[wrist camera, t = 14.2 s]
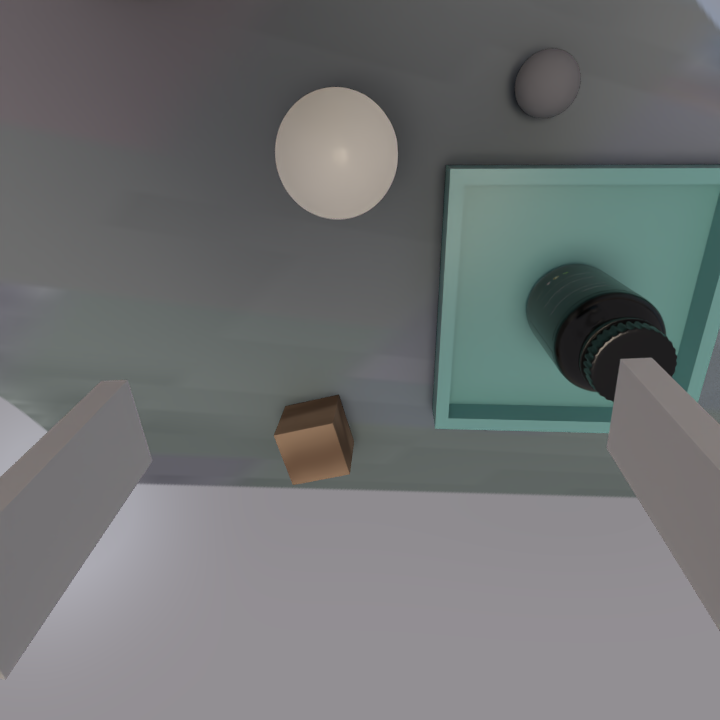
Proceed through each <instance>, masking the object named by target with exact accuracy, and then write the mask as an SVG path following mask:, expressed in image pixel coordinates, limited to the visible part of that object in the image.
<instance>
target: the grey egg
mask: <svg viewBox="0 0 720 720" xmlns="http://www.w3.org/2000/svg"><path fill="white" fill-rule="evenodd" d="M580 83H581V73H580V69H579V66H578V63H577V61H576V60H575V58H574V57H573V56H572V55H571V54H569V53H568V52H566V51H564V50H561V49H557V48H550V49H545V50H541V51H539V52H537V53H535V54H534V55H532V56H531V57H530V58H529V59H527V60H526V62H525V63H524V64H523V65H522V67H521V68H520V70H519V72H518V75H517V78H516V82H515V96H516V99H517V102H518V104H519V106H520V107H521V109H522V110H523V111H524V112H525V113H527V114H528V115H530V116H532V117H535V118H542V119H544V118H551V117H554V116H556V115H558V114H560V113H562V112H563V111H565V110H566V109H567V108H568V107H569V106H570V105H571V104H572V102H573V101H574V99H575V98H576V96H577V94H578V91H579V88H580Z"/></svg>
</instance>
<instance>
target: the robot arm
mask: <svg viewBox="0 0 720 720" xmlns="http://www.w3.org/2000/svg"><path fill="white" fill-rule="evenodd" d="M607 449H608V451H609V453H610V454H611V456H612V457H613V459H614V461H615V462H616V464H617V466H618V467H619V469H620V470H621V472H622V474H623V475H624V477H625V479H626V480H627V482H628V483H629V485H630V487H631V488H632V490H633V491H634V493H635V495H636V496H637V498H638V500H639V501H640V503H641V504H642V506H643V508H644V509H645V511H646V512H647V514H648V516H649V517H650V519H651V520H652V522H653V524H654V525H655V527H656V529H657V530H658V532H659V533H660V535H661V536H662V538H663V540H664V542H665V543H666V545H667V546H668V548H669V550H670V551H671V553H672V555H673V556H674V558H675V559H676V561H677V563H678V564H679V566H680V567H681V569H682V570H683V572H684V574H685V576H686V577H687V579H688V580H689V582H690V584H691V585H692V587H693V589H694V590H695V592H696V593H697V595H698V597H699V598H700V600H701V601H702V603H703V605H704V606H705V608H706V610H707V611H708V613H709V614H710V616H711V618H712V619H713V621H714V622H715V624H716V626H717V627H718V629H719V631H720V424H719V423H717V422H716V421H715V420H714V419H713V418H712V417H711V416H710V415H709V414H708V413H707V412H706V411H705V410H704V409H703V408H702V407H701V406H700V405H699V404H698V403H697V402H696V401H695V400H694V399H693V398H692V397H691V396H690V395H689V394H688V393H687V392H686V391H685V390H684V389H683V388H682V387H681V386H680V385H679V384H678V383H677V382H676V381H675V380H674V379H673V378H672V377H671V376H670V375H669V374H668V373H667V372H666V371H665V370H664V369H663V368H662V367H661V366H660V365H659V364H658V363H657V362H656V361H655V360H654V359H653V358H631V359H620V365H619V372H618V378H617V384H616V391H615V397H614V404H613V410H612V417H611V423H610V430H609V436H608V443H607ZM151 463H152V458H151V454H150V451H149V448H148V445H147V441H146V438H145V435H144V431H143V428H142V425H141V422H140V418H139V415H138V412H137V408H136V405H135V402H134V399H133V395H132V392H131V389H130V386H129V382H128V380H113V381H101V382H100V383H99V384H98V385H97V386H96V387H95V388H93V389H92V390H91V391H90V392H89V393H88V394H87V395H86V396H85V397H84V398H83V399H82V400H81V401H80V402H79V403H78V404H77V405H76V406H75V407H74V408H72V409H71V410H70V411H69V412H68V413H67V414H66V415H65V416H64V417H63V418H62V419H61V420H60V421H59V422H58V423H57V424H56V425H55V426H54V427H53V428H51V429H50V430H49V431H48V432H47V433H46V434H45V435H44V436H43V437H42V438H41V439H40V440H39V441H38V442H37V443H36V444H35V445H34V446H33V447H32V448H31V449H29V450H28V451H27V452H26V453H25V454H24V455H23V456H22V457H21V458H20V459H19V460H18V461H17V462H16V463H15V464H14V465H13V466H12V467H11V468H10V469H8V470H7V471H6V472H5V473H4V474H3V475H2V476H1V477H0V679H6V678H7V677H8V675H9V674H10V672H11V671H12V669H13V668H14V666H15V665H16V663H17V662H18V660H19V659H20V657H21V656H22V654H23V653H24V651H25V650H26V648H27V647H28V646H29V644H30V643H31V641H32V640H33V638H34V636H35V635H36V634H37V632H38V631H39V629H40V628H41V626H42V625H43V623H44V622H45V620H46V619H47V617H48V616H49V614H50V613H51V611H52V610H53V608H54V607H55V605H56V604H57V602H58V601H59V599H60V598H61V596H62V595H63V593H64V592H65V591H66V589H67V588H68V586H69V584H70V583H71V581H72V580H73V579H74V577H75V576H76V574H77V573H78V571H79V570H80V568H81V567H82V565H83V564H84V562H85V560H86V559H87V558H88V556H89V555H90V553H91V552H92V550H93V549H94V547H95V546H96V544H97V543H98V541H99V540H100V538H101V537H102V535H103V534H104V532H105V531H106V530H107V528H108V527H109V525H110V523H111V522H112V521H113V519H114V518H115V516H116V515H117V513H118V512H119V510H120V508H121V507H122V506H123V504H124V503H125V501H126V500H127V498H128V497H129V495H130V494H131V492H132V491H133V489H134V488H135V486H136V485H137V483H138V482H139V480H140V479H141V477H142V476H143V475H144V473H145V472H146V470H147V469H148V467H149V466H150V464H151Z"/></svg>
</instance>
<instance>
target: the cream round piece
mask: <svg viewBox="0 0 720 720" xmlns="http://www.w3.org/2000/svg"><path fill="white" fill-rule="evenodd" d="M275 160H276V166H277V170H278V174H279V177H280V179H281V181H282V184H283V185H284V187H285V189H286V191H287V192H288V193H289V195H290V196H291V197H292V198H293V199H294V200H295V202H296V203H298V204H299V205H300V206H301V207H302V208H304V209H305V210H307V211H309V212H310V213H312V214H315V215H317V216H320V217H323V218H328V219H348V218H352V217H356V216H358V215H361V214H363V213H365V212H367V211H369V210H370V209H371V208H373V207H374V206H375V205H376V204H377V203H378V202H379V201H380V200H381V199H382V198H383V197H384V196H385V194H386V193H387V191H388V190H389V188H390V186H391V184H392V182H393V179H394V176H395V173H396V169H397V163H398V146H397V139H396V134H395V131H394V128H393V126H392V124H391V122H390V121H389V119H388V117H387V116H386V114H385V113H384V112H383V110H382V109H381V108H380V107H379V106H378V105H377V104H376V103H375V102H374V101H373V100H372V99H370V98H369V97H367V96H366V95H364V94H362V93H360V92H358V91H355V90H352V89H349V88H343V87H328V88H322V89H319V90H315V91H313V92H311V93H309V94H307V95H305V96H304V97H302V98H301V99H300V100H298V101H297V102H296V103H295V104H294V105H293V106H292V107H291V108H290V109H289V111H288V112H287V114H286V115H285V117H284V119H283V121H282V123H281V125H280V127H279V130H278V133H277V138H276V145H275Z"/></svg>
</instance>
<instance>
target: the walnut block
mask: <svg viewBox="0 0 720 720" xmlns="http://www.w3.org/2000/svg"><path fill="white" fill-rule="evenodd" d="M274 437H275V440H276V443H277V445H278V448H279V450H280V453H281V455H282V458H283V460H284V463H285V466H286V468H287V471H288V473H289V476H290V478H291V481H292V484H293V485H295V484H301V483H306V482H311V481H316V480H322V479H327V478H332V477H337V476H343V475H348V474H350V469H351V461H352V453H353V446H354V440H353V437H352V434H351V431H350V428H349V425H348V422H347V418H346V415H345V412H344V409H343V406H342V403H341V400H340V397H339V395H335V396H330V397H326V398H321V399H316V400H312V401H307V402H303V403H298V404H293V405H289V406H285V409H284V411H283V414H282V416H281V419H280V421H279V424H278V426H277V429H276V431H275V434H274Z"/></svg>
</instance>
